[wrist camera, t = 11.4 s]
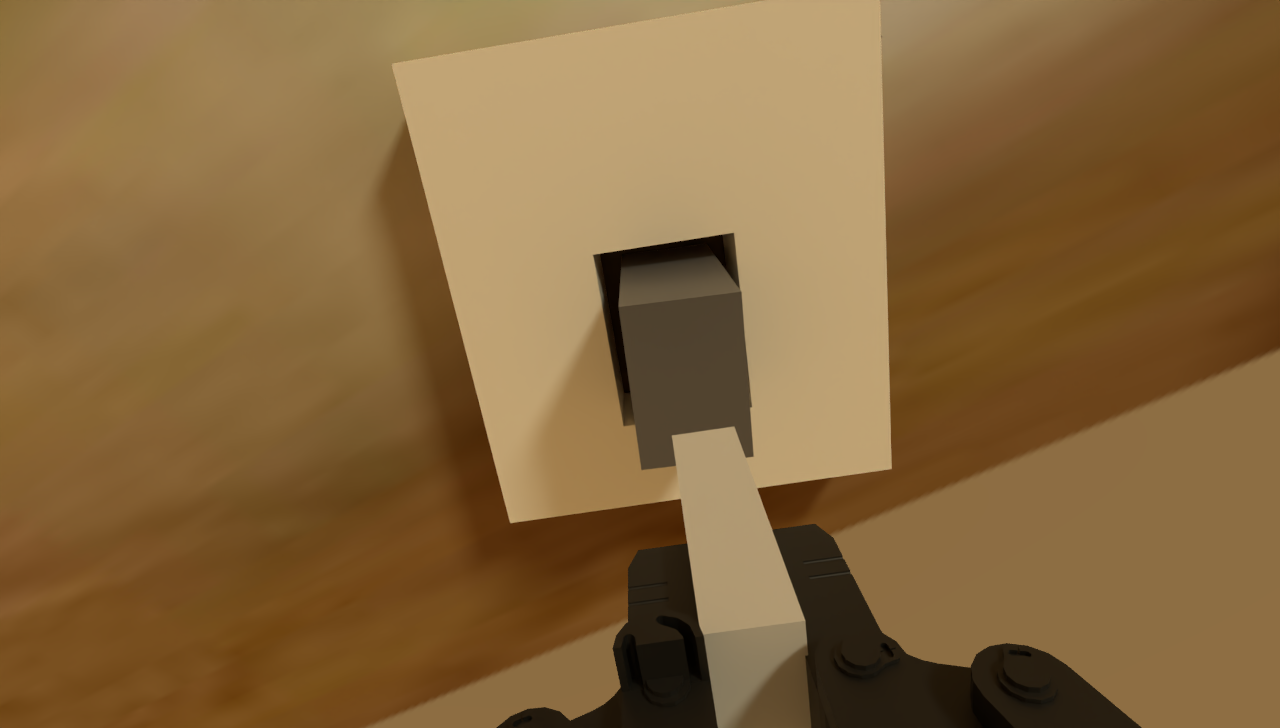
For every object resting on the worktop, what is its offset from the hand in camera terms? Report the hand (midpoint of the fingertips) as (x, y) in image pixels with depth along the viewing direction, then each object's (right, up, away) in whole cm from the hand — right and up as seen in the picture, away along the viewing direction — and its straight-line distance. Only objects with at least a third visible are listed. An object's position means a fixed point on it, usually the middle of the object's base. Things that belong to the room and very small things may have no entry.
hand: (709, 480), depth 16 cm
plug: (0, +5, +15) cm, 16 cm away
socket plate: (-1, +7, +15) cm, 16 cm away
